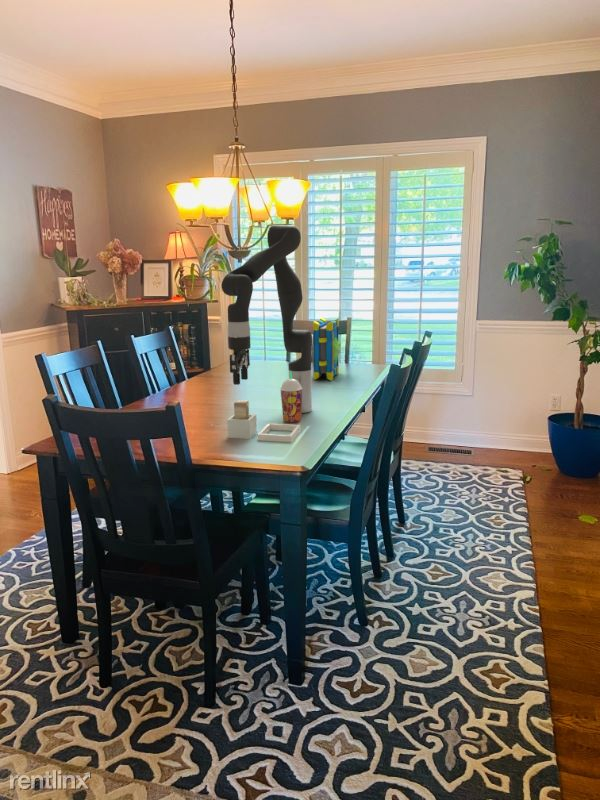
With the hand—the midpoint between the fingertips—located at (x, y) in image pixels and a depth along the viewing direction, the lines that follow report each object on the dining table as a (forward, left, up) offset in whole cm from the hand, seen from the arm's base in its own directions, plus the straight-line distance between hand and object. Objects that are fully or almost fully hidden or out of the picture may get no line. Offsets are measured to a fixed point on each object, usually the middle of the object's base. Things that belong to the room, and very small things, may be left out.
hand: (240, 381), depth 202 cm
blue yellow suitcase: (-111, +10, -20) cm, 113 cm away
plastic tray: (-2, +13, -20) cm, 24 cm away
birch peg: (0, 0, -19) cm, 19 cm away
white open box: (0, 0, -20) cm, 20 cm away
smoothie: (-21, +13, -20) cm, 32 cm away
